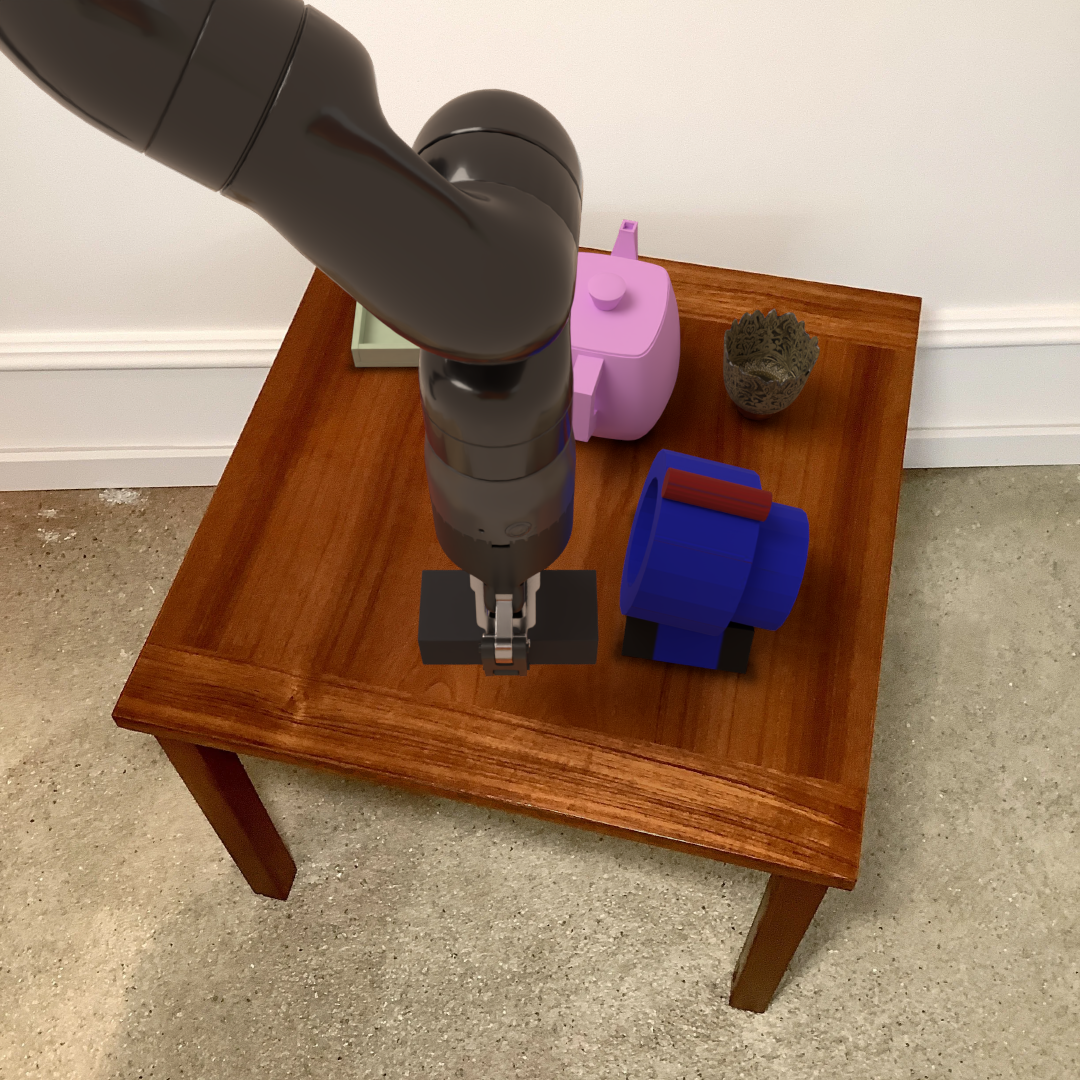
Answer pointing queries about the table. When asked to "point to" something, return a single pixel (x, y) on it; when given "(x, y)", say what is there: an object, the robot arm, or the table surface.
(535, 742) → the table surface
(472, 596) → the black rectangular block
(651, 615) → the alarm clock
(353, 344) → the pale green tray
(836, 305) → the table surface
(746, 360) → the cup
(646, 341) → the teapot
